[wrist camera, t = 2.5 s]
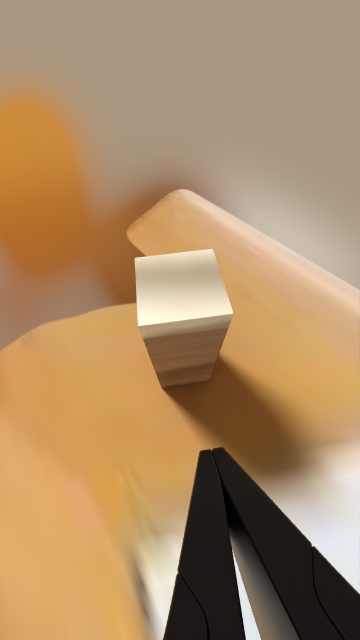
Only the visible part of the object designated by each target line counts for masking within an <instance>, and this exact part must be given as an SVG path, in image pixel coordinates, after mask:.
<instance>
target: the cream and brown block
mask: <svg viewBox="0 0 360 640" xmlns="http://www.w3.org/2000/svg"><path fill="white" fill-rule="evenodd" d="M135 270H136V292H137V313H138V327H139V330H140V332H141V335H142V338H143V340H144V343H145V346H146V348H147V351H148V353H149V356H150V359H151V361H152V364H153V367H154V369H155V372H156V375H157V377H158V380H159V382H160V385H161V388H165V387H171V386H178V385H185V384H192V383H198V382H205V381H209V380H210V377H211V375H212V372H213V369H214V366H215V363H216V361H217V358H218V355H219V352H220V349H221V347H222V344H223V341H224V338H225V335H226V333H227V330H228V327H229V324H230V321H231V319H232V316H233V311H232V308H231V305H230V302H229V299H228V296H227V292H226V289H225V286H224V283H223V280H222V277H221V274H220V271H219V268H218V264H217V261H216V258H215V255H214V252H213V249H209V250H200V251H191V252H182V253H174V254H165V255H156V256H147V257H139V258H135Z"/></svg>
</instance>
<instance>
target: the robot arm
mask: <svg viewBox="0 0 360 640" xmlns="http://www.w3.org/2000/svg"><path fill="white" fill-rule="evenodd" d="M232 549H233V552H234V555H235V558H236V561H237V565H238V568H239V571H240V574H241V577H242V580H243V583H244V587H245V590H246V593H247V596H248V599H249V602H250V605H251V609H252V612H253V615H254V618H255V621H256V624H257V627H258V631H259V634H260V637H261V640H360V594H359V593H358V592H357V591H356V590H355V589H354V588H353V587H352V586H351V585H350V584H349V583H348V582H347V581H346V580H345V578H344V577H343V576H342V575H341V574H340V573H339V572H338V571H337V570H336V569H335V568H334V567H333V566H332V565H331V564H330V563H329V562H328V561H327V560H326V558H325V557H324V556H323V555H322V554H321V553H320V552H319V551H318V550H317V549H316V547H314V546H313V547H312V544H311V542H310V541H309V540H308V539H307V538H306V537H305V536H304V535H303V534H302V532H301V531H300V530H299V529H298V528H297V527H296V526H295V525H294V524H293V523H292V522H291V520H290V519H289V518H288V517H287V516H286V515H285V514H284V513H283V512H282V511H281V510H280V509H279V507H278V506H277V505H276V504H275V503H274V502H273V501H272V500H271V499H270V498H269V497H268V496H267V494H266V493H265V492H264V491H263V490H262V489H261V488H260V487H259V486H258V485H257V484H256V482H255V481H254V480H253V479H252V478H251V477H250V476H249V475H248V474H247V473H246V472H245V471H244V469H243V468H242V467H241V466H240V465H239V464H238V463H237V462H236V461H235V460H234V459H233V457H232V456H231V455H230V454H229V453H228V452H227V451H226V450H225V449H224V448H223V447H220V448H214V449H212V451H211V450H210V449H208V450H202V451H200V452H199V457H198V463H197V468H196V473H195V479H194V484H193V489H192V495H191V500H190V506H189V511H188V516H187V522H186V527H185V533H184V538H183V543H182V549H181V554H180V560H179V565H178V574H177V575H176V580H175V586H174V591H173V596H172V601H171V606H170V610H169V615H168V620H167V625H166V629H165V633H164V637H163V640H246V637H245V631H244V624H243V618H242V611H241V605H240V598H239V591H238V585H237V578H236V572H235V565H234V559H233V552H232Z"/></svg>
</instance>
